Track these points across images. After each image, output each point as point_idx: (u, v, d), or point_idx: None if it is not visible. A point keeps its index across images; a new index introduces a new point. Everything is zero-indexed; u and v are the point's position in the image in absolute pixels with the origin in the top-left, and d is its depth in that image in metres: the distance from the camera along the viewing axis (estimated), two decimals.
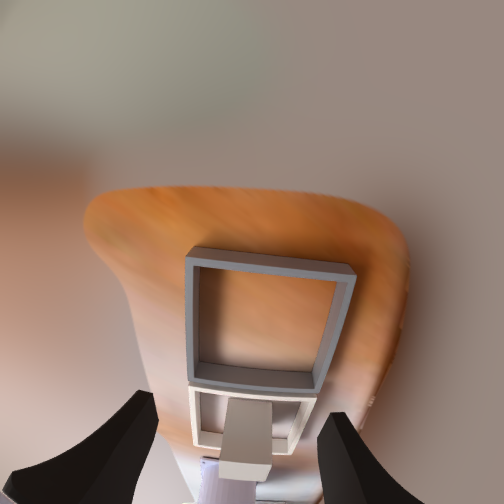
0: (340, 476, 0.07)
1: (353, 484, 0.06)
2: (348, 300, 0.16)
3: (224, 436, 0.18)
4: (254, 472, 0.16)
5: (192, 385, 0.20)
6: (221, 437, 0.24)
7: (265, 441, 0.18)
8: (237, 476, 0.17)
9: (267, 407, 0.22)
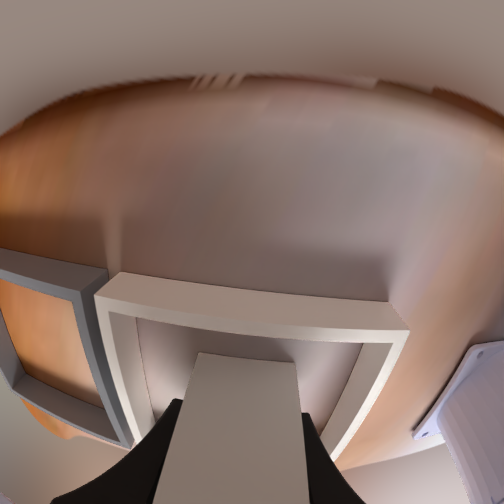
0: None
1: None
2: None
3: None
4: None
5: None
6: (328, 430, 0.11)
7: None
8: None
9: None
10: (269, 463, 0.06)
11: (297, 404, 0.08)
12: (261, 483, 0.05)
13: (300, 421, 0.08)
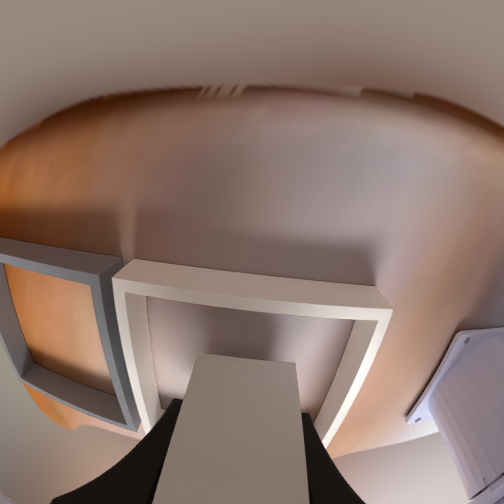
0: None
1: None
2: None
3: None
4: None
5: (145, 430, 0.12)
6: (324, 410, 0.13)
7: None
8: None
9: None
10: (269, 463, 0.06)
11: (297, 404, 0.08)
12: (260, 482, 0.05)
13: (300, 421, 0.08)
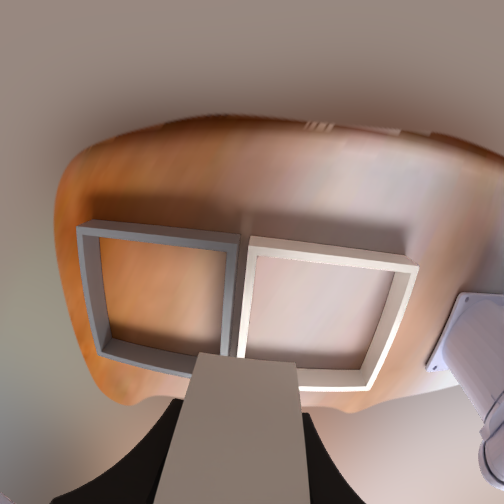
0: None
1: None
2: (97, 230, 0.15)
3: None
4: None
5: None
6: (371, 352, 0.18)
7: None
8: None
9: None
10: (271, 463, 0.06)
11: (298, 404, 0.08)
12: (262, 482, 0.05)
13: (300, 421, 0.08)
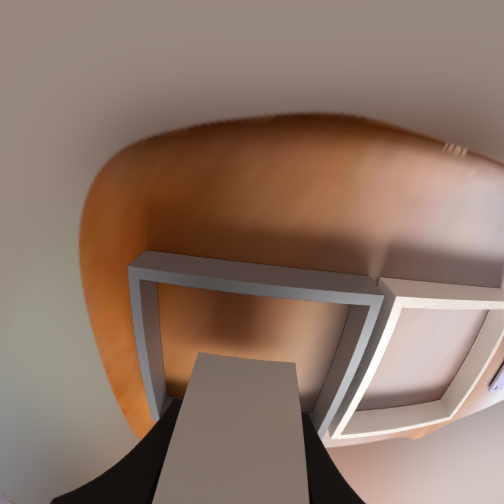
0: None
1: None
2: (167, 275, 0.10)
3: None
4: None
5: (331, 435, 0.13)
6: (456, 383, 0.14)
7: None
8: None
9: None
10: (269, 463, 0.06)
11: (297, 404, 0.08)
12: (261, 483, 0.05)
13: (299, 421, 0.08)
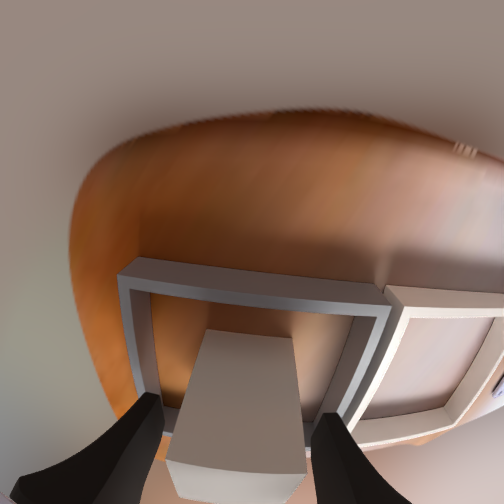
0: (332, 477, 0.07)
1: (344, 485, 0.06)
2: (159, 285, 0.09)
3: None
4: (231, 483, 0.06)
5: None
6: (461, 390, 0.13)
7: None
8: (264, 497, 0.06)
9: None
10: (270, 419, 0.08)
11: (294, 371, 0.10)
12: (262, 436, 0.07)
13: (296, 385, 0.09)
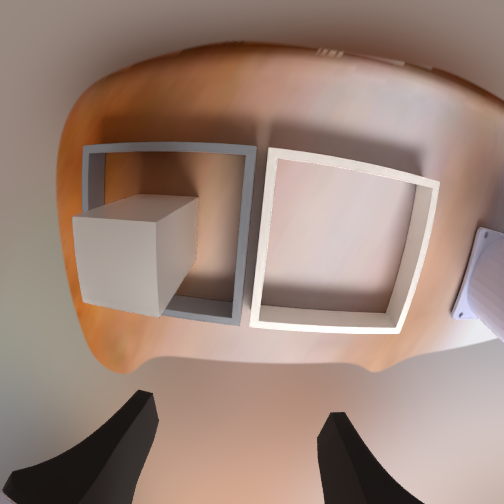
0: (340, 476, 0.07)
1: (353, 484, 0.06)
2: (105, 146, 0.13)
3: None
4: (109, 246, 0.10)
5: None
6: (397, 288, 0.17)
7: None
8: (137, 280, 0.10)
9: None
10: (151, 210, 0.11)
11: (186, 202, 0.14)
12: (140, 212, 0.11)
13: (183, 205, 0.13)
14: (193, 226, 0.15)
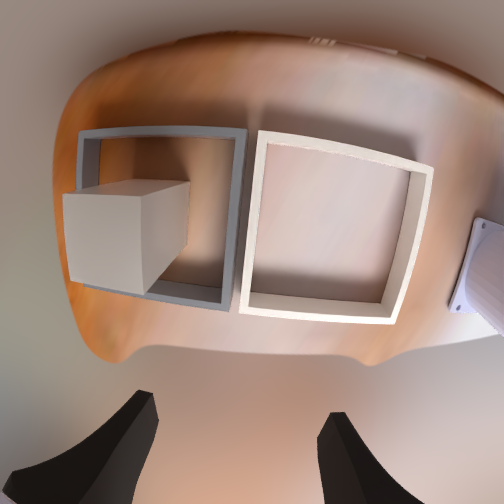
0: (340, 476, 0.07)
1: (353, 484, 0.06)
2: (100, 131, 0.13)
3: None
4: (96, 222, 0.10)
5: None
6: (392, 277, 0.17)
7: None
8: (122, 256, 0.10)
9: None
10: (140, 188, 0.11)
11: (176, 184, 0.14)
12: (128, 190, 0.11)
13: (172, 186, 0.13)
14: (184, 209, 0.15)
